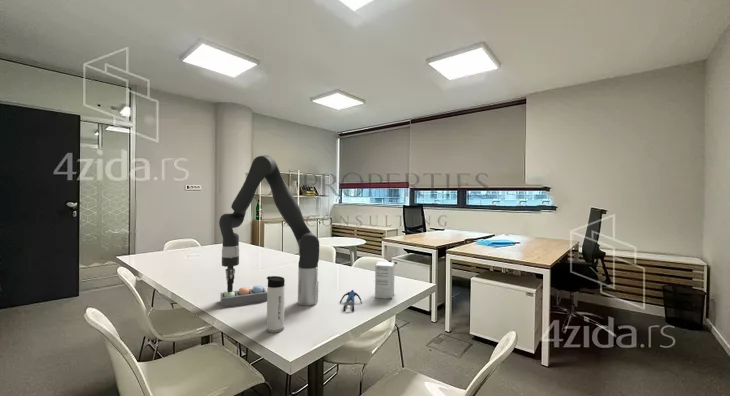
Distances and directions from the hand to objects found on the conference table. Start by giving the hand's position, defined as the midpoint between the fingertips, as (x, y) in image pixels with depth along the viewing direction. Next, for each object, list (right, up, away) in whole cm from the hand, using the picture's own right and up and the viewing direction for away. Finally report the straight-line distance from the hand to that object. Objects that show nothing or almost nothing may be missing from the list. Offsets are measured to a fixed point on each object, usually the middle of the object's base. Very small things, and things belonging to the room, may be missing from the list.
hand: (229, 291), depth 138 cm
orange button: (+5, -3, +3) cm, 7 cm away
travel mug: (+30, -6, -28) cm, 41 cm away
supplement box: (+75, -7, +15) cm, 76 cm away
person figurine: (+57, -7, 0) cm, 58 cm away
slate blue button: (+11, -3, +6) cm, 13 cm away
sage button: (0, -4, 0) cm, 4 cm away
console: (+5, -6, +3) cm, 8 cm away
